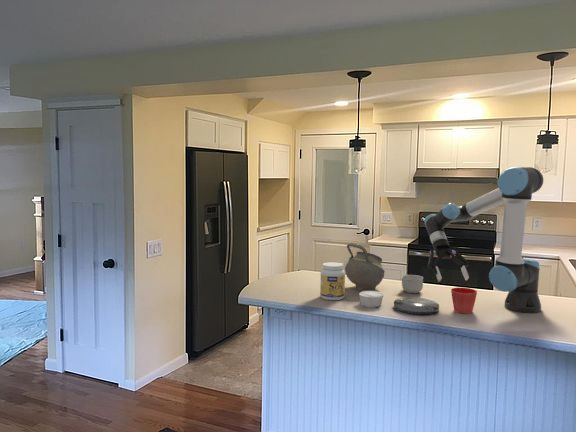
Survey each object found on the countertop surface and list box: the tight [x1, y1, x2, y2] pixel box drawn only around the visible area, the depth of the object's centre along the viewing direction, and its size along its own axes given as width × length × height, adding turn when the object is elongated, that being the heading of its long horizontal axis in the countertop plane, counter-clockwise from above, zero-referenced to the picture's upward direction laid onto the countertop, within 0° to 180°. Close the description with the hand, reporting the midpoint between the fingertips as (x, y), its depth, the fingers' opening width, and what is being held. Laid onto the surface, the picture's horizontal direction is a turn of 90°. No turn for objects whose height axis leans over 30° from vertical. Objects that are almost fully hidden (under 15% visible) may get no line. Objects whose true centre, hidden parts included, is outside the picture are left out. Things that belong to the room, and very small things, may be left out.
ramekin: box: [358, 290, 384, 308], centre depth 221 cm, size 11×11×5 cm
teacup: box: [401, 274, 424, 294], centre depth 245 cm, size 14×11×8 cm
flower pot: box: [450, 287, 478, 315], centre depth 211 cm, size 11×11×10 cm
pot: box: [344, 242, 386, 292], centre depth 248 cm, size 21×21×25 cm
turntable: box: [393, 296, 440, 315], centre depth 214 cm, size 20×20×2 cm
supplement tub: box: [319, 261, 346, 301], centre depth 232 cm, size 12×12×17 cm
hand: (453, 279), depth 218 cm, fingers open, 13 cm apart
